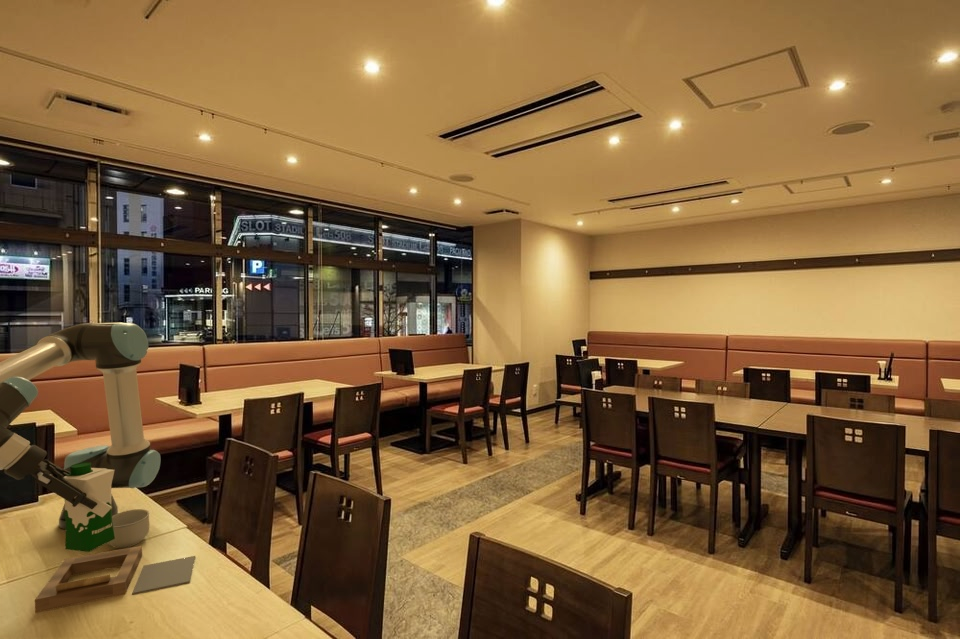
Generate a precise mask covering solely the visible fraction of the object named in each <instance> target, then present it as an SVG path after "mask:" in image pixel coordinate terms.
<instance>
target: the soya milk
mask: <svg viewBox="0 0 960 639" xmlns="http://www.w3.org/2000/svg"><path fill="white" fill-rule="evenodd" d="M70 469H71V474H69V475H66V476H64V479H65V480H66V481H68V482H69V483H71V484H72V485H74V486H75V487H76V488H78V489H79V490H81V491H82V492H84V493H86V494H87V493H88V494H90V495H91V496H93V497H95V498H97V499H99V500H101V501H102V502H104V503H106V504H108V505H110V506H111V507H112V500H111V494H112V488H111V484H112V480H113V475H114V471H115V470H110V469H106V468H91V463H89V462H84V463H78V464H74V465H72V466H71V467H70ZM76 497H77V496H76ZM76 497H75V498H76ZM64 503H65V524H66V529H65V536H64V537H65V540H64V542H65V545H64V547H65V548H64V549H65V550H70V551H77V552H84V553H90V552H92V551H93V550H94V551H95V549H98V548H100V547H101V546H104V545H105V544H108V543H107V542H109V541H111V540H113V539H115V535H114V529H113V522H112V508H111V509H110V510H109V511H108V512H107V513H106V514H105V515H104V516H103V517H101V516H99V515H97V514H95V513H93V512H91V511H90V510H88V509H86V508H84V507H82V506H80V505H77V506H76V507H73V506H72V505H73V504H72V503H70V502H69V501H67V500H65V499H64Z"/></svg>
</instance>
